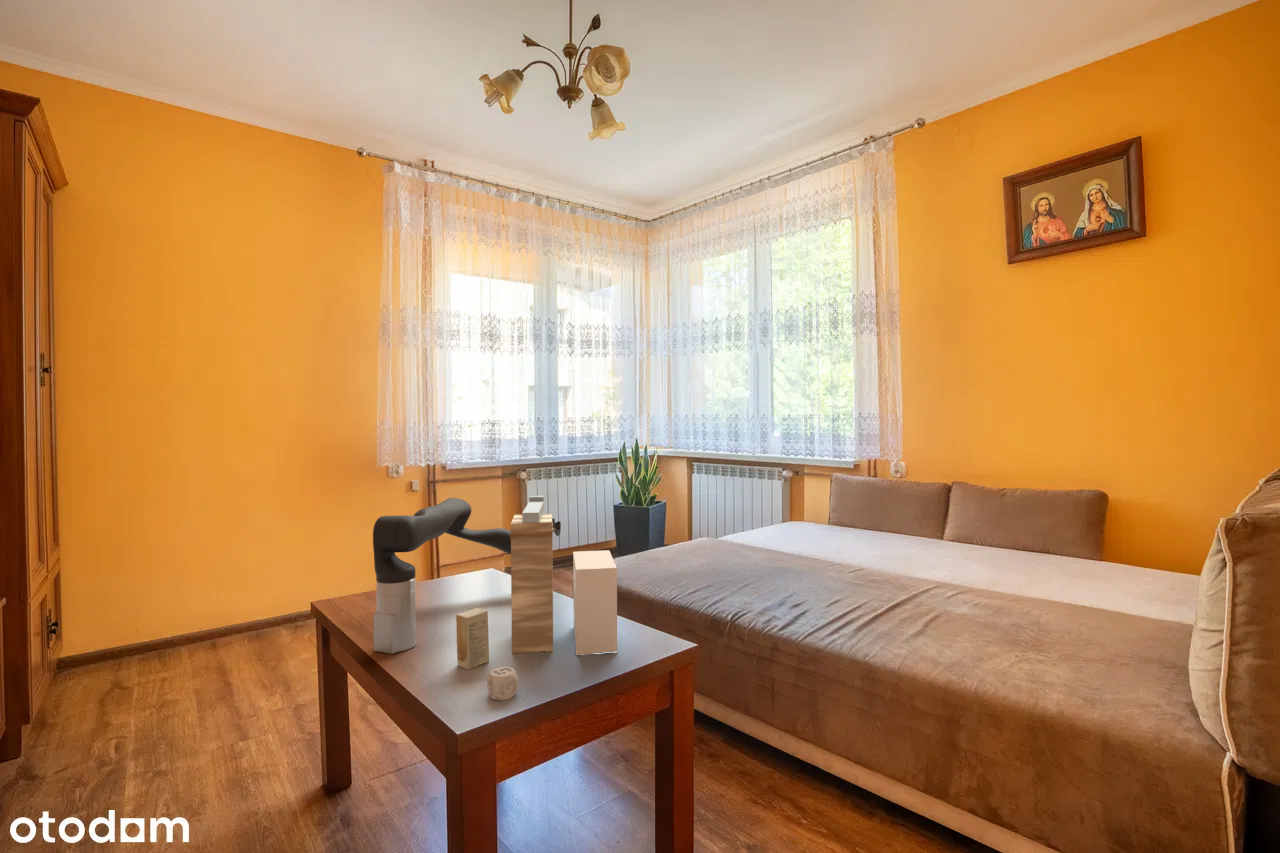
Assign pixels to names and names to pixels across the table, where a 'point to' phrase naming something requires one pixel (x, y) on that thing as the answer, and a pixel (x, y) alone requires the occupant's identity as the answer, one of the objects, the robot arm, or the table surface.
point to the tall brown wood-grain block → (532, 585)
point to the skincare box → (472, 638)
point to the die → (502, 683)
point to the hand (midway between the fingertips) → (536, 520)
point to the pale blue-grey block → (533, 510)
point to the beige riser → (595, 602)
